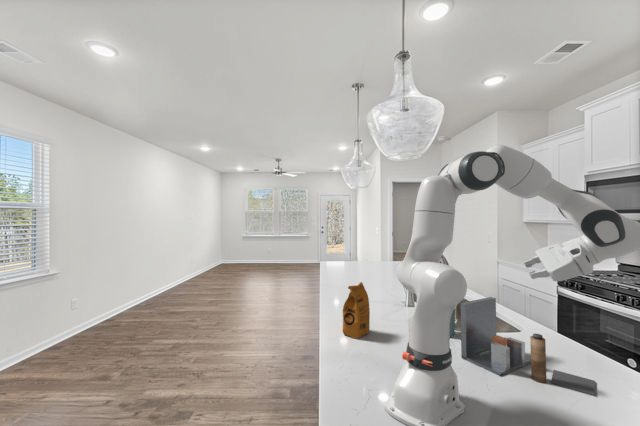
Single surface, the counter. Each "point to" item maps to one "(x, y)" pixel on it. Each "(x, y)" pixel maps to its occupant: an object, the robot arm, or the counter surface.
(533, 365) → the brown bottle
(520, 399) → the counter surface
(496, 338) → the breaker toggle
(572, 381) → the bar
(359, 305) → the coffee package
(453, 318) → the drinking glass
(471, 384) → the counter surface
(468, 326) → the grey l-shaped stand
